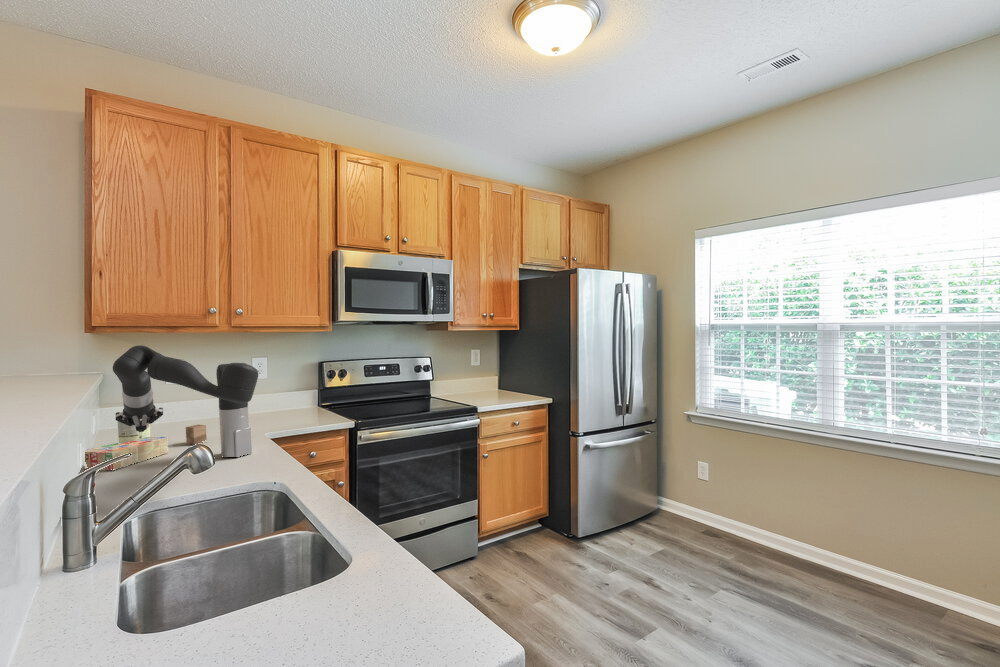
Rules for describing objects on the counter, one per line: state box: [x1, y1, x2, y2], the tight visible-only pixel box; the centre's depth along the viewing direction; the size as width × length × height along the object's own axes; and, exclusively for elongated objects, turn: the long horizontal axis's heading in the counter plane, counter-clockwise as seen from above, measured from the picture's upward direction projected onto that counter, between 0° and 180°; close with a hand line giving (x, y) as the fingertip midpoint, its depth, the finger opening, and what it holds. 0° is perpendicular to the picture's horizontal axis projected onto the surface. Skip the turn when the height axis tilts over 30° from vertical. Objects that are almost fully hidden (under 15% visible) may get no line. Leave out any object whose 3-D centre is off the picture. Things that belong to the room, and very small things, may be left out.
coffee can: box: [117, 419, 152, 443], centre depth 192 cm, size 10×10×14 cm
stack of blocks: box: [85, 436, 169, 472], centre depth 174 cm, size 21×6×12 cm
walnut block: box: [185, 423, 208, 446], centre depth 198 cm, size 5×5×7 cm
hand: (141, 429), depth 163 cm, fingers closed
